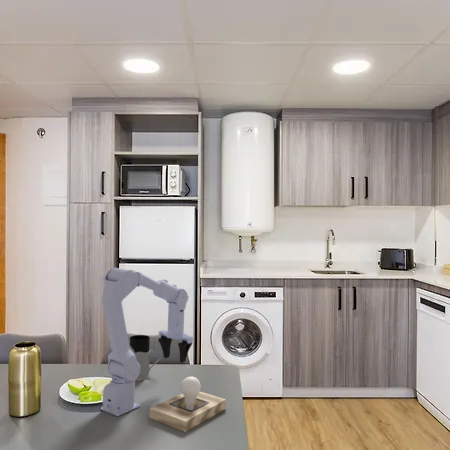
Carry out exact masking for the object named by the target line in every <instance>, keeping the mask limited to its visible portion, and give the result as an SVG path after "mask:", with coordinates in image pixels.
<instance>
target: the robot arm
mask: <svg viewBox="0 0 450 450" xmlns="http://www.w3.org/2000/svg"><path fill="white" fill-rule="evenodd" d="M103 284H104V287H103V291H102V297H101V299H102V305H103V307H102V308H103V311H104V317H105V321H106V327H107V332H108V338H109V343H110V349H111V352H110V353H109V354H108V355H107V358H108V363H107V372H108V374H110V379H111V381H110V382H109V383H107V384H106V385H105V386H104V387H103V390H102V406H101V408H100V410H102V411H104V412H106V413H108V414H111V415H113V416H116V417H119V416H122V415H124V414H126V413H128V412H130V411H133V410H135V409H137V408H140V407H141V404H139V403H136V402H135V396H136V395H135V392H136V391H135V389H136V388H135V387H136V379H137V377H138V376H139V374H140V364H139V363H138V362H137V360H136V356H135V355H134V353H133V352H132V351H131V349H130V347H129V344H130V340H129V338H128V337H129V336H128V331H127V326H126V321H125V315H124V310H123V304H122V302H123V301H124V299H126V298H127V297H128V296H129V295H130V294H131V293H133V291H134V290H135V289H136V288H137V287H140V286H141V287H143V288H146V289H148V290H151V291H152V294H153V295H154V296H155V297H158V298H160V299H161V300H164V301H165V302H166V303H168V306H167V307H168V314H167V315H168V316H167V330H164V329H162V330H159V331H158V337H159V338H158V339H157V340H158V341H157V342H158V343H159V345H160V347H161V351H162V353H163V358H164V359H167V358H170V355H171V345H172V341H173V340H177V341H178V343H177V346H178V349H179V362H180V363H185V362H186V361H187V357H188V353H189V351H190V349H191V347H192V345H193V343H194V342H193V341H194V337H193V336H191V335H188V334H186V333H185V329H184V328H185V310H186V308H187V303H188V301H189V295H188V293H187V291H186V289H184V288H179V287H178V286H177V285H176V284H171V283H169V281H168V280H167V279H163V280H162V279H160V280H158V281H157V280H155V279H153V278H151V277H150V276H147V275H146V274H144V273H142V272H140V271H136V270H134V269H124V268H119V267H112V268H110V269H109V270H108V271H107V272H106V274H105V275H104V276H103ZM179 341H180V342H179Z"/></svg>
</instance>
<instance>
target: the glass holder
mask: <svg viewBox="0 0 450 450" xmlns="http://www.w3.org/2000/svg"><path fill="white" fill-rule="evenodd" d="M150 339H151V336H149V335H145V334H135V335H132V336H130V337H129V347H130V349H131V351H132V352H133V353H134V355H135V356H136V360H137V362H138V363H139V364H140V374H139V376H138V377H137V379H136V381H138V382H140V381H145V380H148V379H150V377H151V374H150V372H151V369H152V368H153V367H154V366H155V365H156V364H157V363H158V362H159V361H161V360H162V357H164V355H163V352H162V353H161V356H160V357H159V358H158V359H157V360H156V361H155V362H154V363H153V364H152V365H151V366H150V358H151V357H150V355H151V354H150V353H151V352H153V351H154V350H155V346H156V344H157V343H158V342H159V341H158V339H157V340H155V341H154V342H153V349H152V350H151V349H150V347H151V346H150V342H151V341H150ZM136 381H135V382H136Z"/></svg>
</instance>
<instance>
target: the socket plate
mask: <svg viewBox="0 0 450 450" xmlns="http://www.w3.org/2000/svg"><path fill="white" fill-rule="evenodd" d="M226 406H227V399H225V398H223V397H220V396H215V395H213V394H210V393H207V392H203V391H201V390H200V391H199V393H198V395H197V397H196V401H195V404H194V409H192V410H189V409H186V404H185V397H184V395H183V393H182V392H181V393H180V394H178V395H176V396H173V397H172V398H169V399H167V400H165V401H163V402H161V403H158V404H156V405H154V406H152V407H150V408H149V419H150V420H153V421H156V422H158V423H161V424H164V425H166V426H168V427H172V428H174V429H175V430H176V429H177V430H179V431H182V432H184V433H186V432H188V431H190V430H192V429H194V428H195V427H197V426H198V425H200V424H202V423H204V422H205V421H207V420H209V419H211V418H212V417H214V416H216V415H218V414H219V413H221V412H223V411H225V410H226Z"/></svg>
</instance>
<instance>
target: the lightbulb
mask: <svg viewBox="0 0 450 450" xmlns="http://www.w3.org/2000/svg"><path fill="white" fill-rule="evenodd" d="M201 387H202V385H201V383H200V380H199V379H198V378H197V377H195V376H187V377H186V378H184V379H183V380H182V382H181V386H180V389H181V390H180V391H181V394H182V393H183V395H184V397H185V404H186V407H185V408H186V409H189V410H192V409H194V404H195V401H196V397H197V395H198V393H199V391H200V392H201Z"/></svg>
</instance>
